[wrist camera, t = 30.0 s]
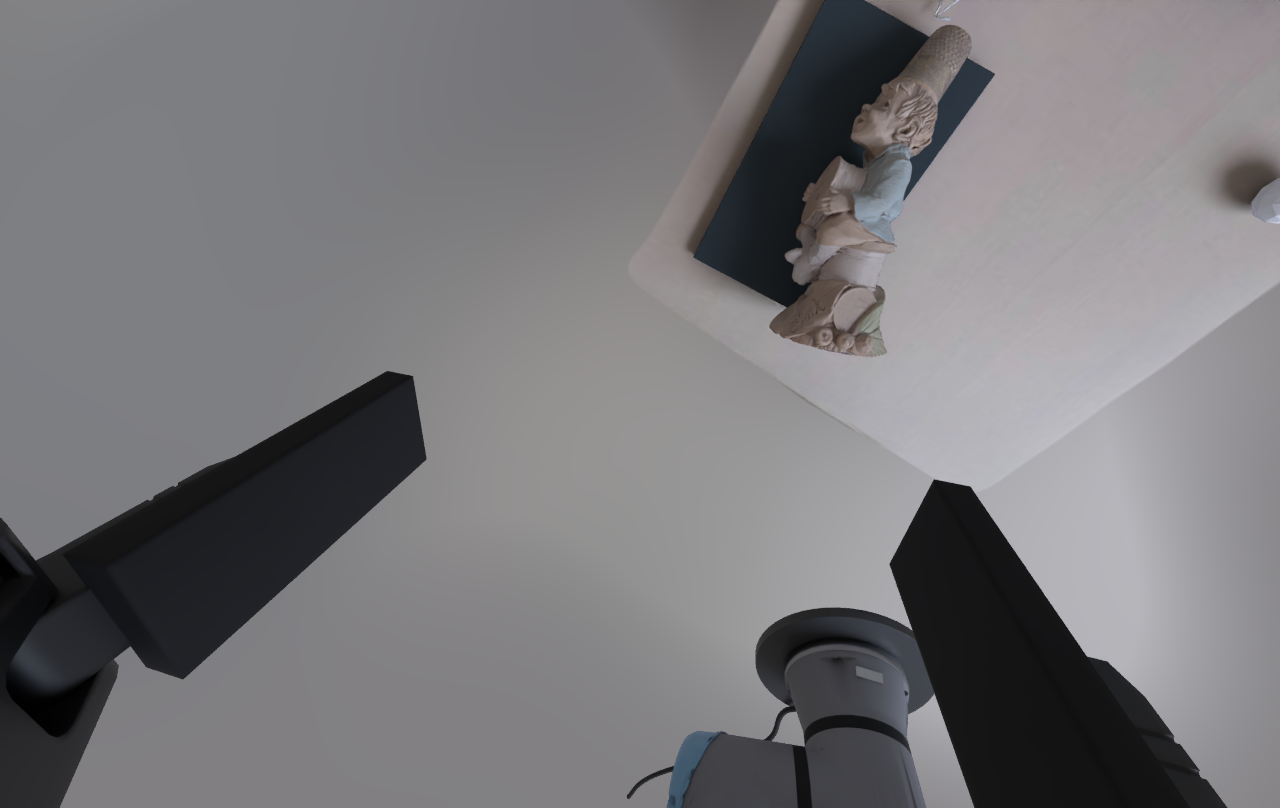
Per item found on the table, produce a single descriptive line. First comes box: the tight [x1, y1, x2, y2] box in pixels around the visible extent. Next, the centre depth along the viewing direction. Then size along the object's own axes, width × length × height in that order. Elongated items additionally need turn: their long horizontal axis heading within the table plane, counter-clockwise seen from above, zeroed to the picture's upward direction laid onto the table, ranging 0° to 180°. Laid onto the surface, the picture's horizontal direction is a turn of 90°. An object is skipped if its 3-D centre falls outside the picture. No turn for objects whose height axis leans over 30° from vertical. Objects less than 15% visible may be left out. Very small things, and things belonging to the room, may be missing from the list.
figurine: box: [770, 25, 972, 357], centre depth 30 cm, size 9×8×20 cm
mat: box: [694, 0, 995, 308], centre depth 34 cm, size 19×12×1 cm, turn 155°
